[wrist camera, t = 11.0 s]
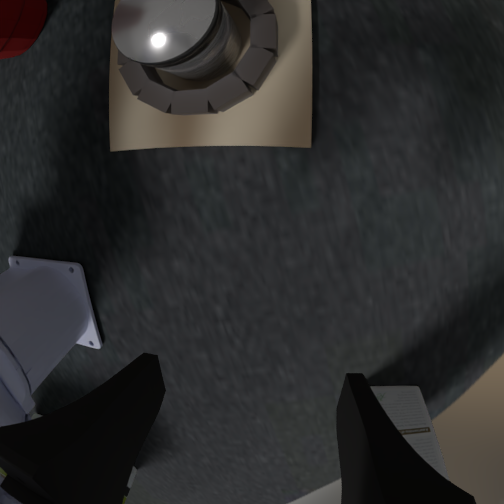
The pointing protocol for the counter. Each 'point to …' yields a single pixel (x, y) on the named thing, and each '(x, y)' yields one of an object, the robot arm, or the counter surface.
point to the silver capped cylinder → (178, 36)
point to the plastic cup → (20, 25)
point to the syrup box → (412, 421)
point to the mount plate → (242, 122)
